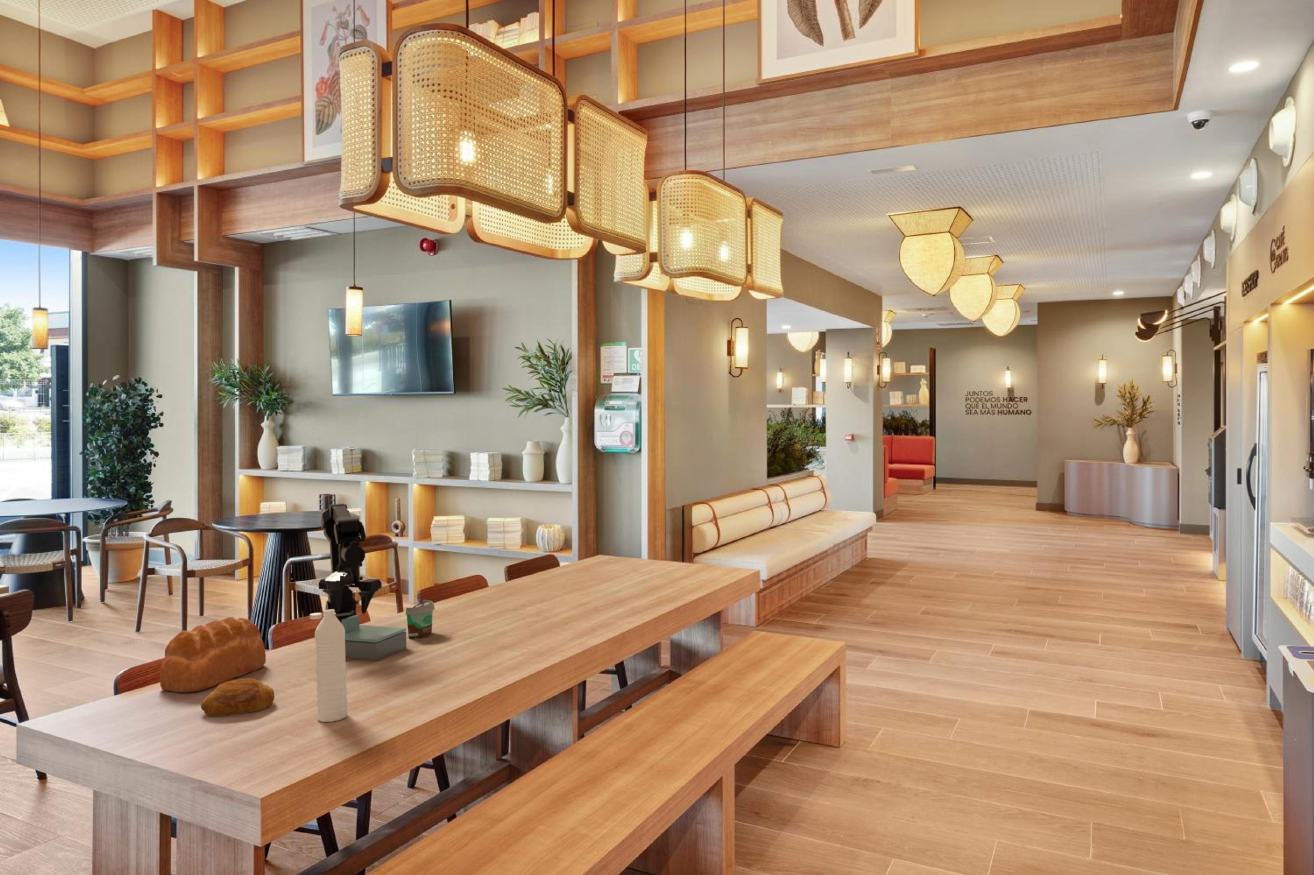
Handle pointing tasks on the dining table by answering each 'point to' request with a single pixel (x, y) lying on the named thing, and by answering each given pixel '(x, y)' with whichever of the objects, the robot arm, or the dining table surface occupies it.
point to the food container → (420, 620)
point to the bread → (211, 655)
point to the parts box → (375, 648)
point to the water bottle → (330, 667)
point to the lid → (367, 631)
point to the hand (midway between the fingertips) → (350, 612)
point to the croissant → (238, 698)
